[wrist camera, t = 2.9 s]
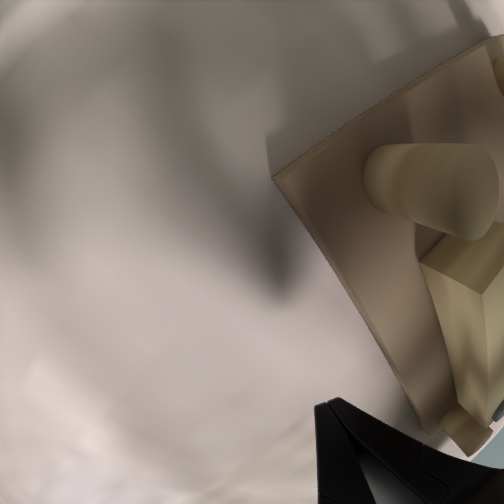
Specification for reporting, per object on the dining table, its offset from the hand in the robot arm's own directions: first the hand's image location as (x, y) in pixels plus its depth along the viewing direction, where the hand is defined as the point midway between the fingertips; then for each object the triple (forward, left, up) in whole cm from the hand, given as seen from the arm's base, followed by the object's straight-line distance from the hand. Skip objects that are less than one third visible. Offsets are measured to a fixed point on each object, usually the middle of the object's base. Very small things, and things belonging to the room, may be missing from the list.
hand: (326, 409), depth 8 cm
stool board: (-4, -11, -3) cm, 12 cm away
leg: (-5, -7, -2) cm, 9 cm away
